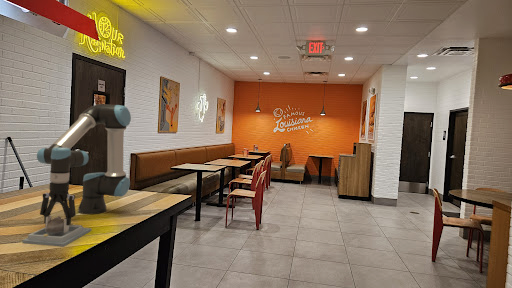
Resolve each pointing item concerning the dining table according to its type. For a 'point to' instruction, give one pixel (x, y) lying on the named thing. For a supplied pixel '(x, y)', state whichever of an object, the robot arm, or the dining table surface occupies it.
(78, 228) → the bracket board
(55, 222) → the stone
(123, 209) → the dining table surface
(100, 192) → the robot arm
